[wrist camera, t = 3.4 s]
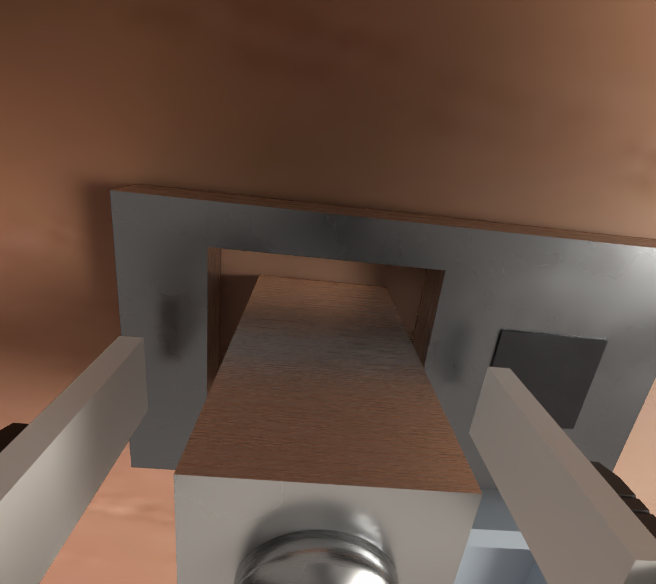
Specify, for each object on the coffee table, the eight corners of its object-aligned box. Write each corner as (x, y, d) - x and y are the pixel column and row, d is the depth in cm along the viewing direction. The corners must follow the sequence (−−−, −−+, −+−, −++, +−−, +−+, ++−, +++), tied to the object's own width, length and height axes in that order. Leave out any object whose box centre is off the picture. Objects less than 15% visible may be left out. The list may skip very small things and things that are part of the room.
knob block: (259, 275, 16) (159, 507, 6) (385, 287, 16) (497, 526, 6) (253, 384, 17) (169, 706, 7) (367, 393, 18) (432, 714, 8)
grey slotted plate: (136, 183, 14) (108, 190, 12) (664, 240, 16) (714, 254, 14) (150, 433, 18) (130, 468, 16) (573, 462, 19) (602, 498, 17)
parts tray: (355, 464, 19) (362, 522, 16) (576, 479, 20) (621, 537, 17) (330, 615, 23) (332, 684, 20) (515, 623, 24) (543, 690, 21)
